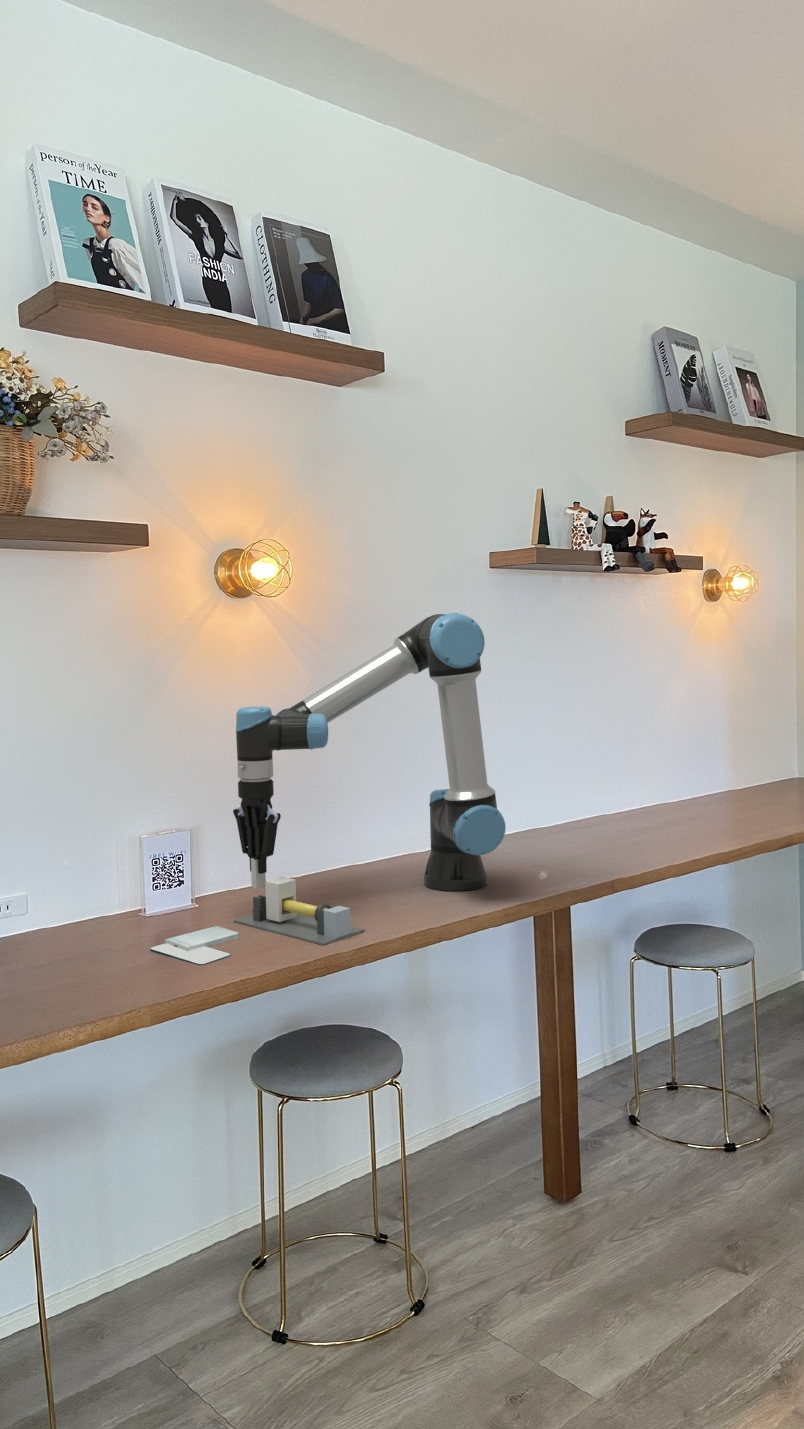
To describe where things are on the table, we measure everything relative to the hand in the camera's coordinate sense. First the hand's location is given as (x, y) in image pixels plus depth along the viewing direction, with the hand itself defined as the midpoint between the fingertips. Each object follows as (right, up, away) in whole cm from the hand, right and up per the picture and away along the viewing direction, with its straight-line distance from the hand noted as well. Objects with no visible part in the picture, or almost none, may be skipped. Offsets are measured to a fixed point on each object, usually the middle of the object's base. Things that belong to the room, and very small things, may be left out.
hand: (258, 887), depth 229 cm
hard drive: (-9, -9, -16) cm, 21 cm away
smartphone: (-10, -10, -23) cm, 27 cm away
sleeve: (+5, -6, -4) cm, 9 cm away
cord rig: (+9, -7, -7) cm, 14 cm away
